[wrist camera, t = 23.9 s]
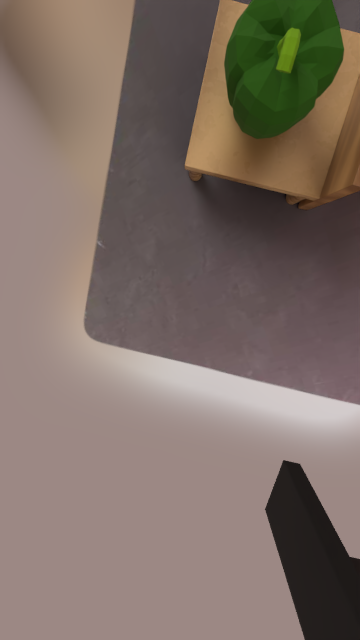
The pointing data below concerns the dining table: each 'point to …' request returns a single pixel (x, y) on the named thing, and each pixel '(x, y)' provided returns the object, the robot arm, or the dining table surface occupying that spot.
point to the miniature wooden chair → (292, 145)
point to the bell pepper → (281, 62)
